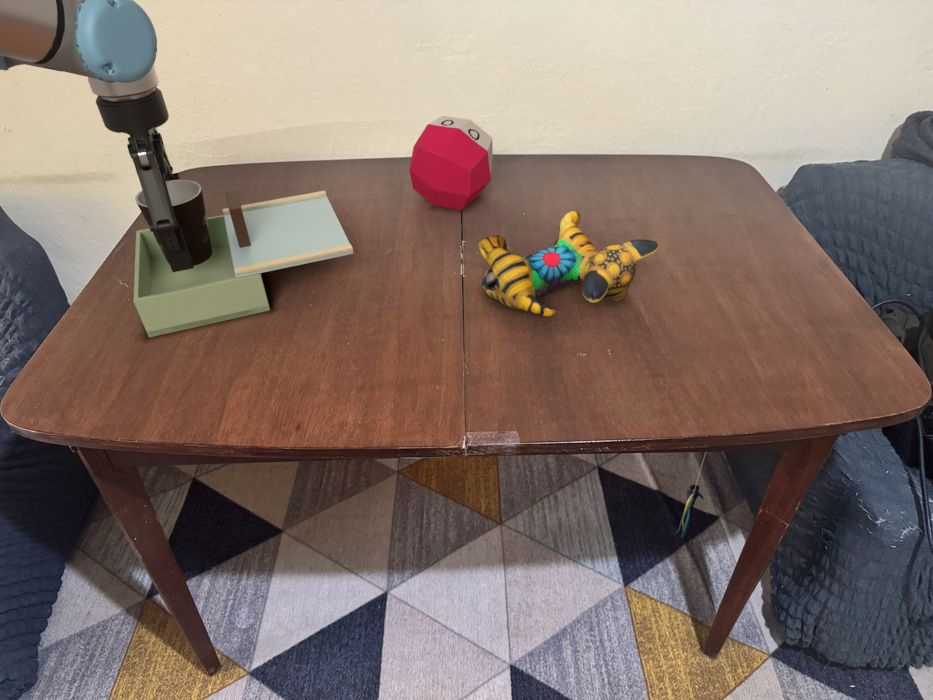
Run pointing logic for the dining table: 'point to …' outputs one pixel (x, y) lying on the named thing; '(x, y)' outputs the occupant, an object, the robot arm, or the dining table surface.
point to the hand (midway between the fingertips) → (181, 246)
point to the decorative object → (451, 162)
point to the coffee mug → (185, 218)
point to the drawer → (282, 232)
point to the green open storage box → (192, 286)
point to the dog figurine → (560, 268)
